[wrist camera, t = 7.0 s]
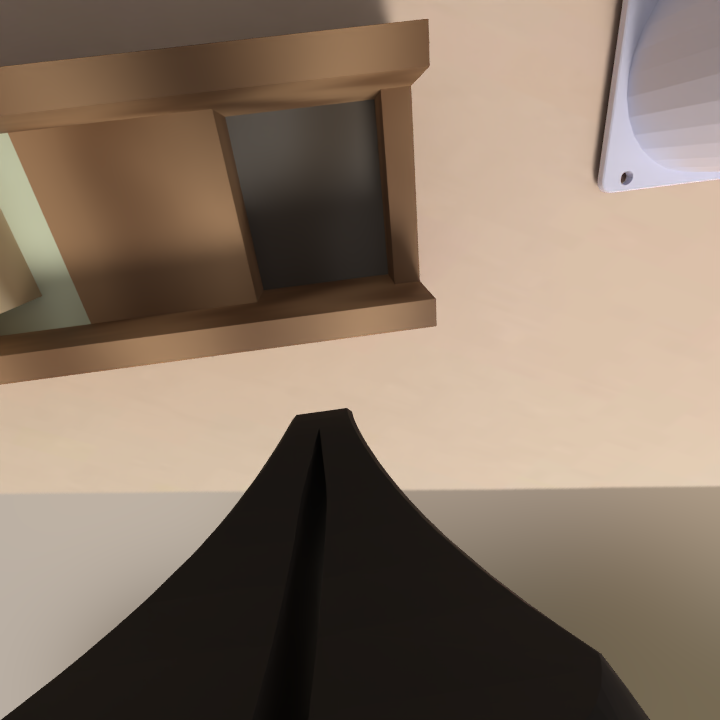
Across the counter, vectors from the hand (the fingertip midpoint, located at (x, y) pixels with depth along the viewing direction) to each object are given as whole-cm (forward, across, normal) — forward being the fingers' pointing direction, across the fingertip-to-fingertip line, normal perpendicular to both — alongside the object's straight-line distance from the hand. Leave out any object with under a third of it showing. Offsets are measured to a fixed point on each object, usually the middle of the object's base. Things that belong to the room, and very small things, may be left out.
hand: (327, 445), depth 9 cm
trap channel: (+9, +9, -5) cm, 14 cm away
